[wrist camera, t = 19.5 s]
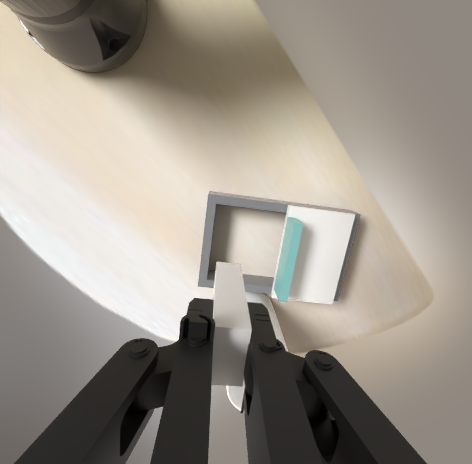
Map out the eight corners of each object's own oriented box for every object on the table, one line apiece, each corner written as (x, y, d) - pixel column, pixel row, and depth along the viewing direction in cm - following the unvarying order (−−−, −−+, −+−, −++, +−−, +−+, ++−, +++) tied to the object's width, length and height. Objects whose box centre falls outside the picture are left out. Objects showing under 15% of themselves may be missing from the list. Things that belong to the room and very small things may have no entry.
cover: (287, 204, 37) (296, 210, 33) (351, 213, 38) (368, 220, 34) (270, 294, 41) (276, 310, 36) (329, 301, 41) (342, 317, 37)
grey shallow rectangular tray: (209, 191, 40) (208, 193, 36) (348, 209, 42) (360, 214, 38) (199, 276, 43) (197, 286, 40) (328, 290, 45) (337, 301, 42)
